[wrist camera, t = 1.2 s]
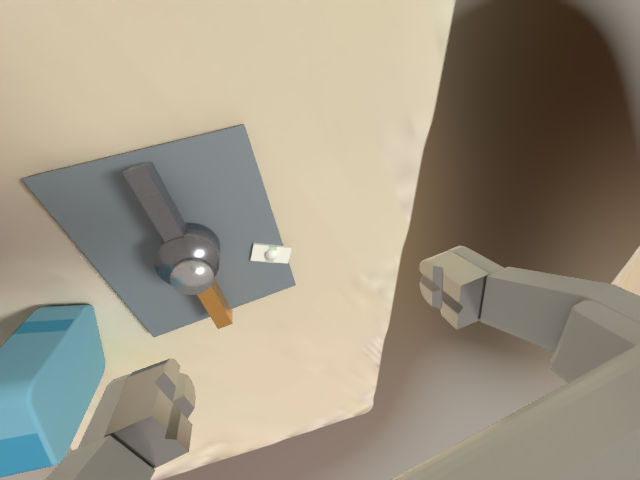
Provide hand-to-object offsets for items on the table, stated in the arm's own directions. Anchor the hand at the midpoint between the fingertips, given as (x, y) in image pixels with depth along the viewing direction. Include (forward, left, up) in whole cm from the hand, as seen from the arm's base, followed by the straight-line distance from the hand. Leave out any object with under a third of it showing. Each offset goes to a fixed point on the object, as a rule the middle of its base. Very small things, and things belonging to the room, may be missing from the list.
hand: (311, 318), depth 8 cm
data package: (+15, -27, -25) cm, 40 cm away
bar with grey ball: (+7, -9, -23) cm, 26 cm away
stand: (+7, -9, -25) cm, 27 cm away
